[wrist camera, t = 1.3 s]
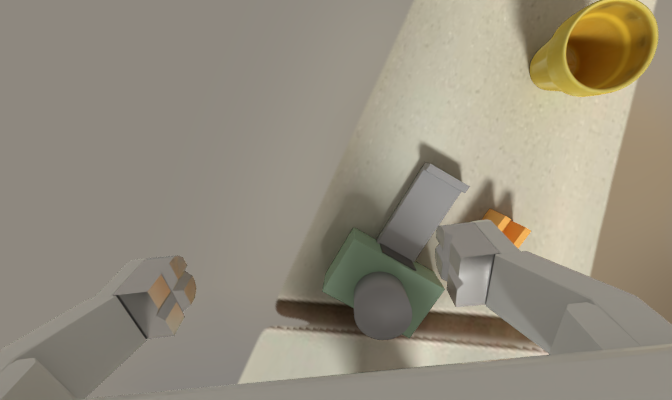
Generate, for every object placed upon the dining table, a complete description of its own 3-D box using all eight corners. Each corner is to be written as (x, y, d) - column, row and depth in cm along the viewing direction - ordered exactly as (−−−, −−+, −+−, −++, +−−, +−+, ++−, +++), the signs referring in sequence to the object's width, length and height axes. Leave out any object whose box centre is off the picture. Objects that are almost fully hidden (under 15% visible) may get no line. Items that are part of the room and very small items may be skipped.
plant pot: (518, 110, 43) (566, 101, 34) (512, 38, 41) (561, 7, 32) (589, 96, 42) (659, 82, 33) (587, 21, 40) (661, -16, 31)
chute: (512, 221, 47) (531, 230, 42) (470, 279, 49) (483, 294, 44) (489, 208, 47) (505, 215, 42) (447, 266, 49) (458, 280, 44)
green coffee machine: (485, 197, 46) (526, 213, 35) (402, 315, 51) (416, 362, 40) (401, 148, 45) (417, 150, 34) (325, 273, 50) (318, 309, 39)
